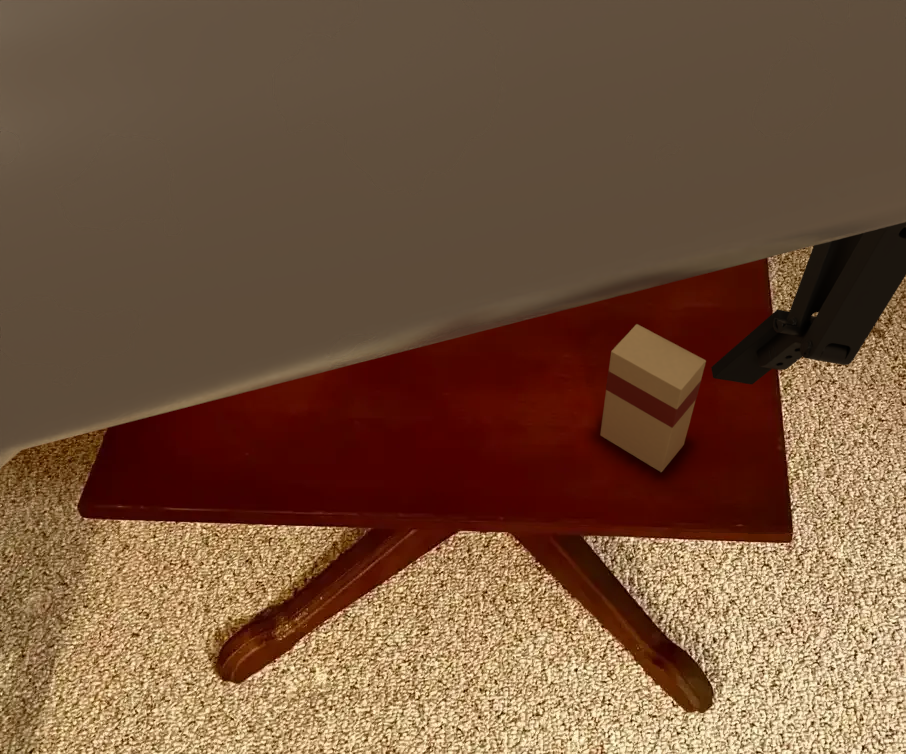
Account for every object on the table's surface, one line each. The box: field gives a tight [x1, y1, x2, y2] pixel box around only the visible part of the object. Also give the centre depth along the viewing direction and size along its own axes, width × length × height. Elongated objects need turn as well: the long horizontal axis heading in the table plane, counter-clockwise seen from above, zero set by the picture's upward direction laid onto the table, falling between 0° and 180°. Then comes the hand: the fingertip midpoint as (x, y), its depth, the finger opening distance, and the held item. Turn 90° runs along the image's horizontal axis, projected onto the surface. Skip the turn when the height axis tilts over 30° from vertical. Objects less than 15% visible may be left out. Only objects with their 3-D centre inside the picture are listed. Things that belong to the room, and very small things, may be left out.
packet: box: [599, 323, 707, 473], centre depth 69 cm, size 6×4×11 cm, turn 50°
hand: (713, 284), depth 56 cm, fingers open, 13 cm apart
